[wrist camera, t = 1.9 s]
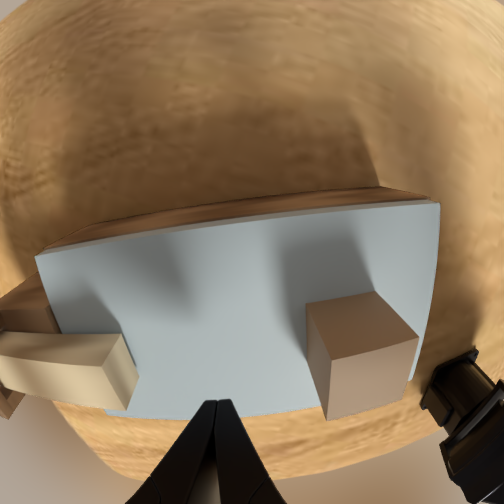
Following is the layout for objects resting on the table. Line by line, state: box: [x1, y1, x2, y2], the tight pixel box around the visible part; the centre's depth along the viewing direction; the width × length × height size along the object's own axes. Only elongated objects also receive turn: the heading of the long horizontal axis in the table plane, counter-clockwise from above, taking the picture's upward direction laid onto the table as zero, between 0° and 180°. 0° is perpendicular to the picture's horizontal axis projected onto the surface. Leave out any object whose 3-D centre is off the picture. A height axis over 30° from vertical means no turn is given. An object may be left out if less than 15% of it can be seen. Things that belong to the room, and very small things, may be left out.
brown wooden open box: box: [0, 187, 430, 419], centre depth 12 cm, size 24×10×10 cm, turn 97°
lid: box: [34, 200, 440, 421], centre depth 10 cm, size 18×10×4 cm, turn 97°
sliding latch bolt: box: [0, 331, 140, 411], centre depth 9 cm, size 9×2×2 cm, turn 97°
